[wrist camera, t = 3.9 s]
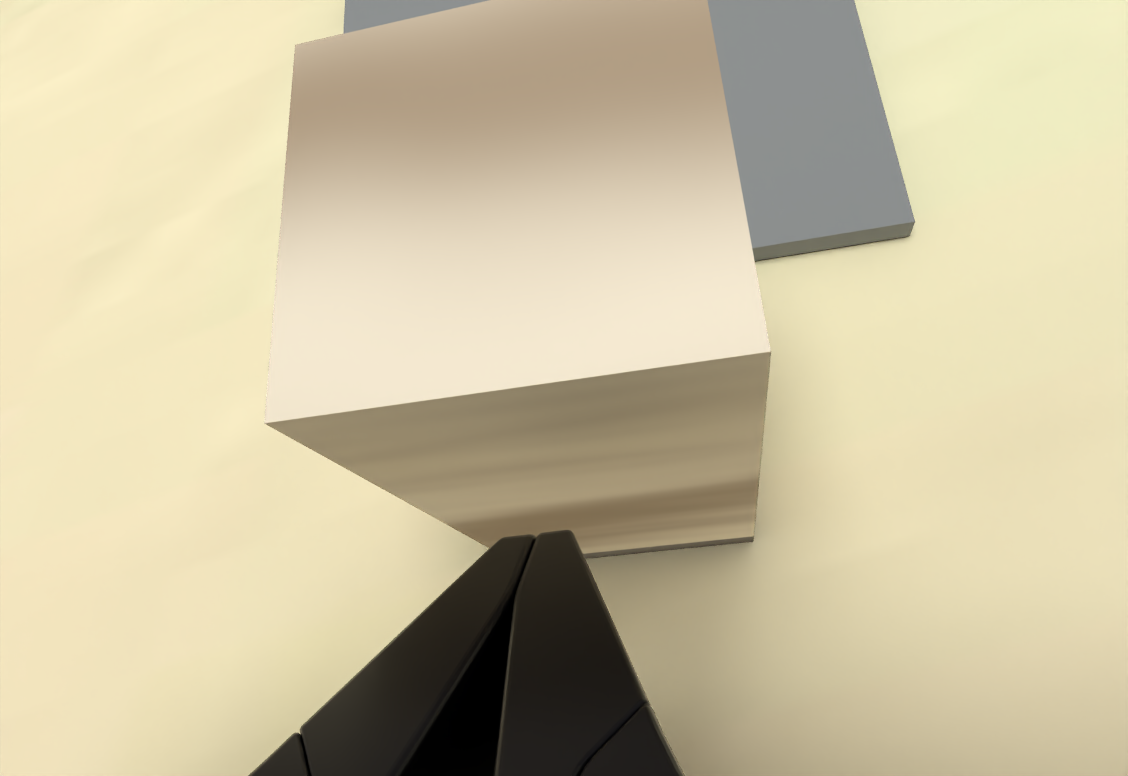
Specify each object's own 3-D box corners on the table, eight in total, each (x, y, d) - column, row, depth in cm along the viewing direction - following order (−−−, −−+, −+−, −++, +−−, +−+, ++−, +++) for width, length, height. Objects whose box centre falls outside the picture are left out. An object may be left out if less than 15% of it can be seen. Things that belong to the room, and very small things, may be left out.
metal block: (753, 541, 16) (770, 351, 7) (520, 565, 17) (265, 422, 8) (719, 325, 18) (698, -48, 9) (510, 356, 19) (295, 44, 10)
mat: (909, 235, 18) (914, 221, 17) (339, 327, 20) (328, 317, 20) (800, -170, 23) (801, -191, 22) (357, -59, 25) (348, -76, 25)
